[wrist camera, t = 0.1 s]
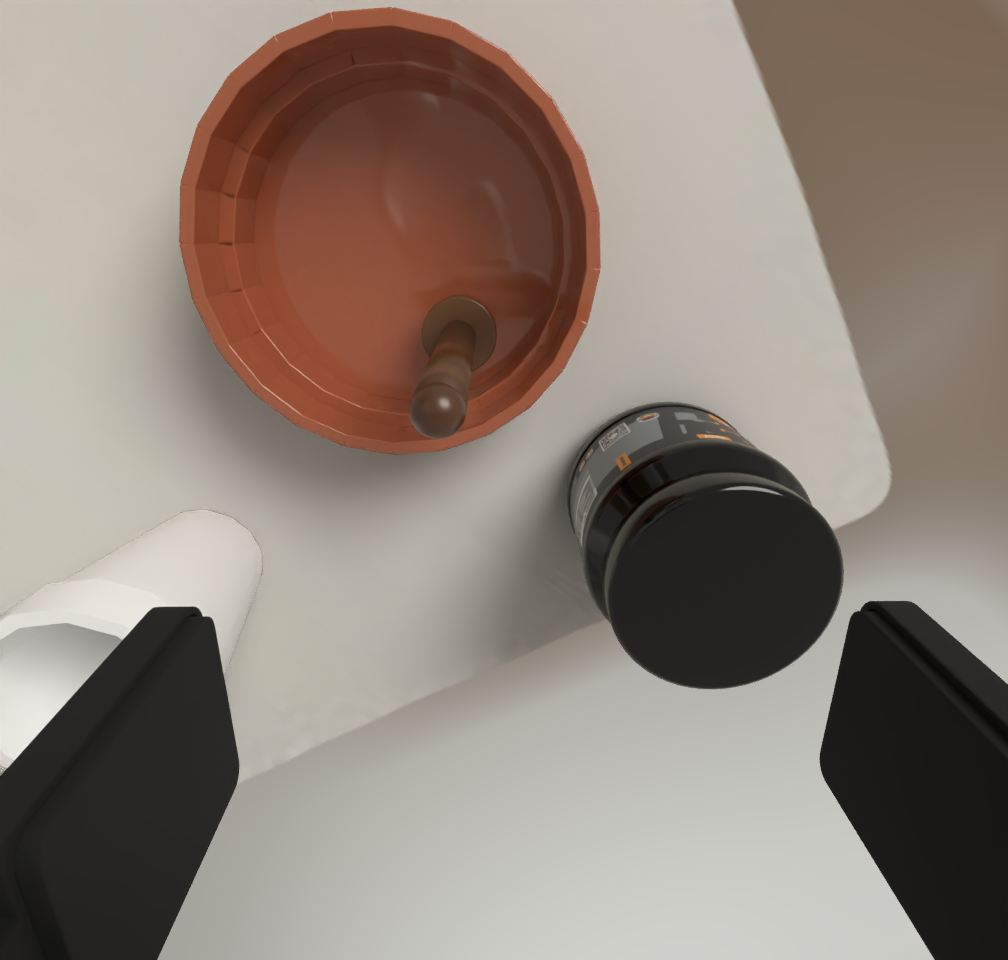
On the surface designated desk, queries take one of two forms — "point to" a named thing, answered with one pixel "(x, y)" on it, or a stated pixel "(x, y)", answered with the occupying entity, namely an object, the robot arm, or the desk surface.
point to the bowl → (386, 223)
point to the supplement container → (700, 547)
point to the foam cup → (119, 613)
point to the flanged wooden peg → (451, 363)
